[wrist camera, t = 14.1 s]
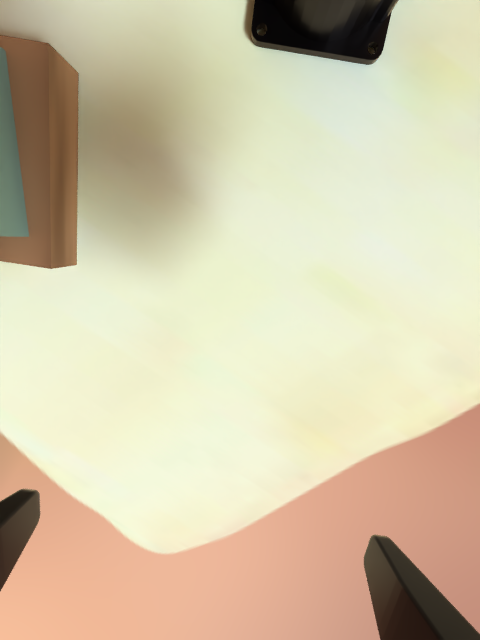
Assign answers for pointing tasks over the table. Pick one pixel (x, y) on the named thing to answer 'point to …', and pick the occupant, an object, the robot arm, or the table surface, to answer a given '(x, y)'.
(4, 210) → the tower top
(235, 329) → the table surface
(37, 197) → the tower base
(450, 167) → the table surface
